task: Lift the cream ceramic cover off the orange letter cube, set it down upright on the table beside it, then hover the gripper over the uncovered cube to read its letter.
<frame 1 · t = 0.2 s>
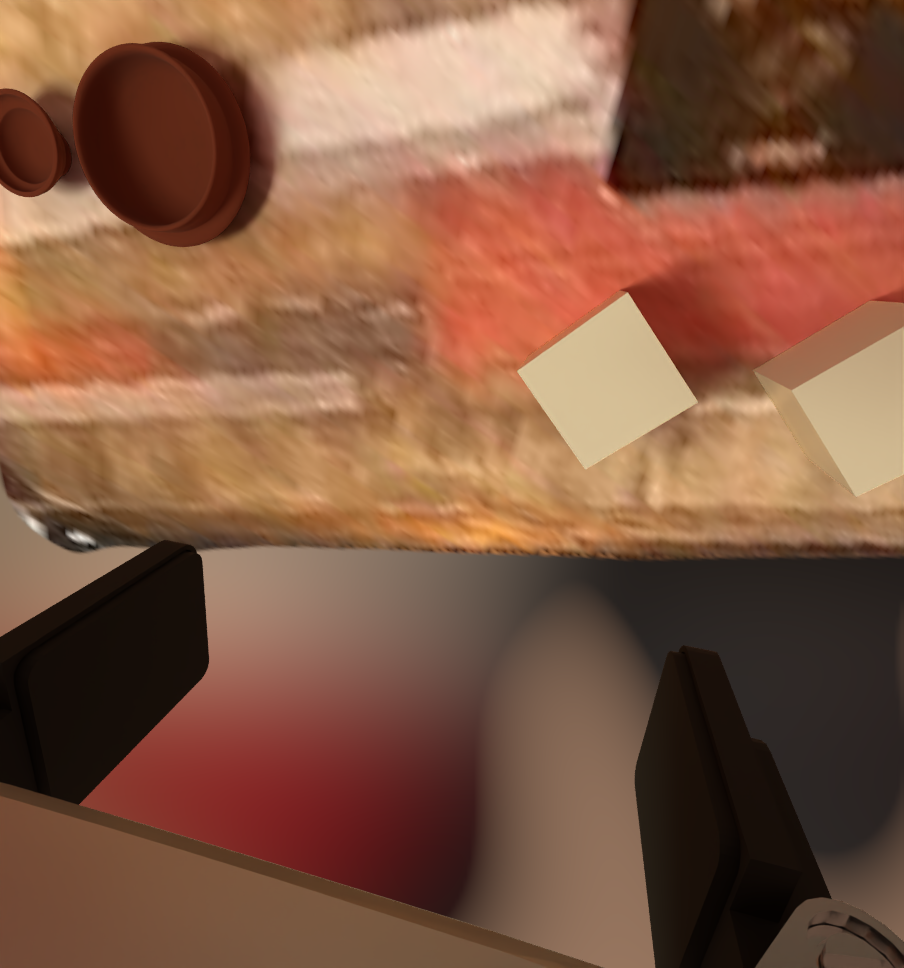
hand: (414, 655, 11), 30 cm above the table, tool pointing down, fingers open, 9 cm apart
cover empty: (836, 383, 34), on the table
pottery: (139, 156, 39), on the table
cover cube: (601, 368, 37), on the table
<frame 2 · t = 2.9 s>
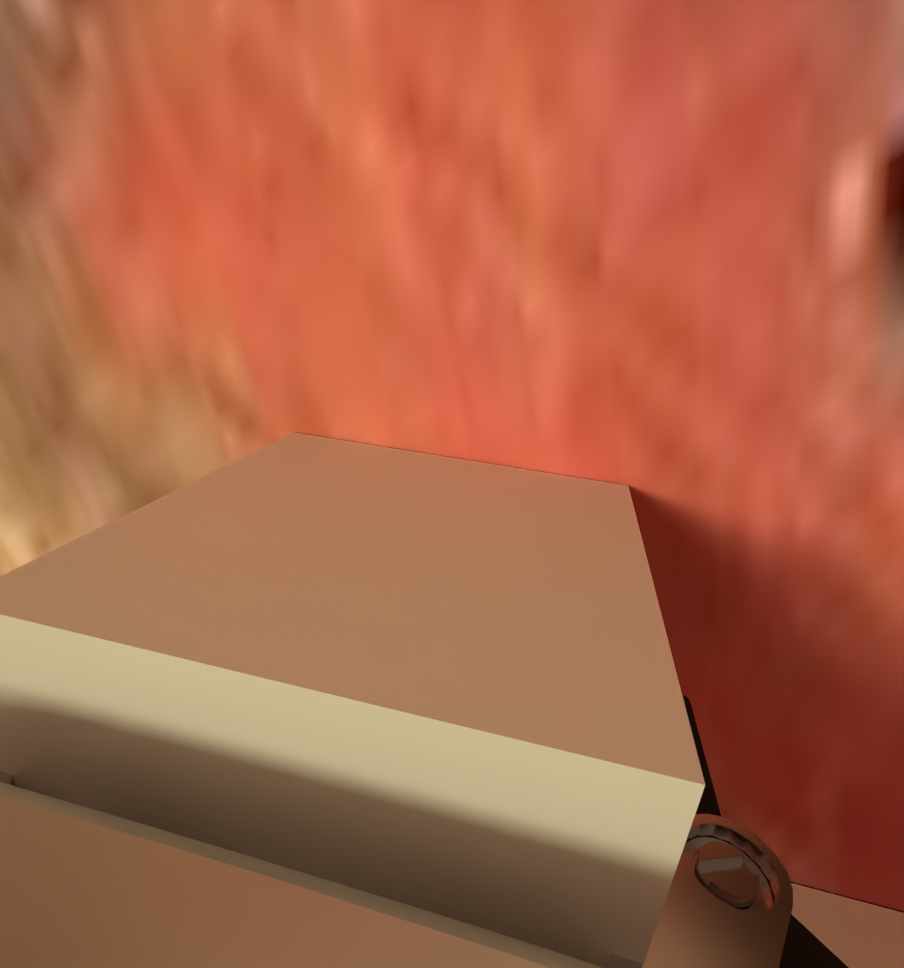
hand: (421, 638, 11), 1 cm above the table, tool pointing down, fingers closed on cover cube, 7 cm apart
cover cube: (437, 604, 12), on the table, touching gripper
when the fingers open (2 cm above the table, at t = 9.8 s): cover cube stays where it is, on the table.
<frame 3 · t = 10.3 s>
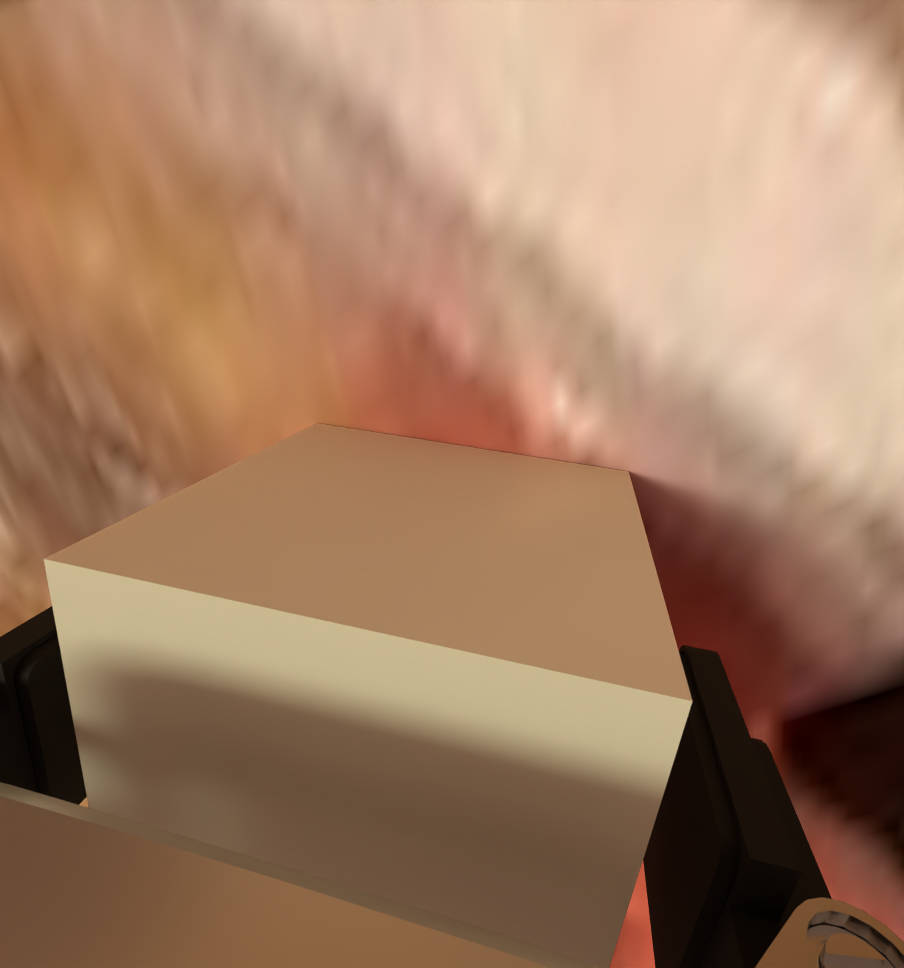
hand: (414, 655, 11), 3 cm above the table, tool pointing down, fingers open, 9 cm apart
cover cube: (449, 584, 13), on the table
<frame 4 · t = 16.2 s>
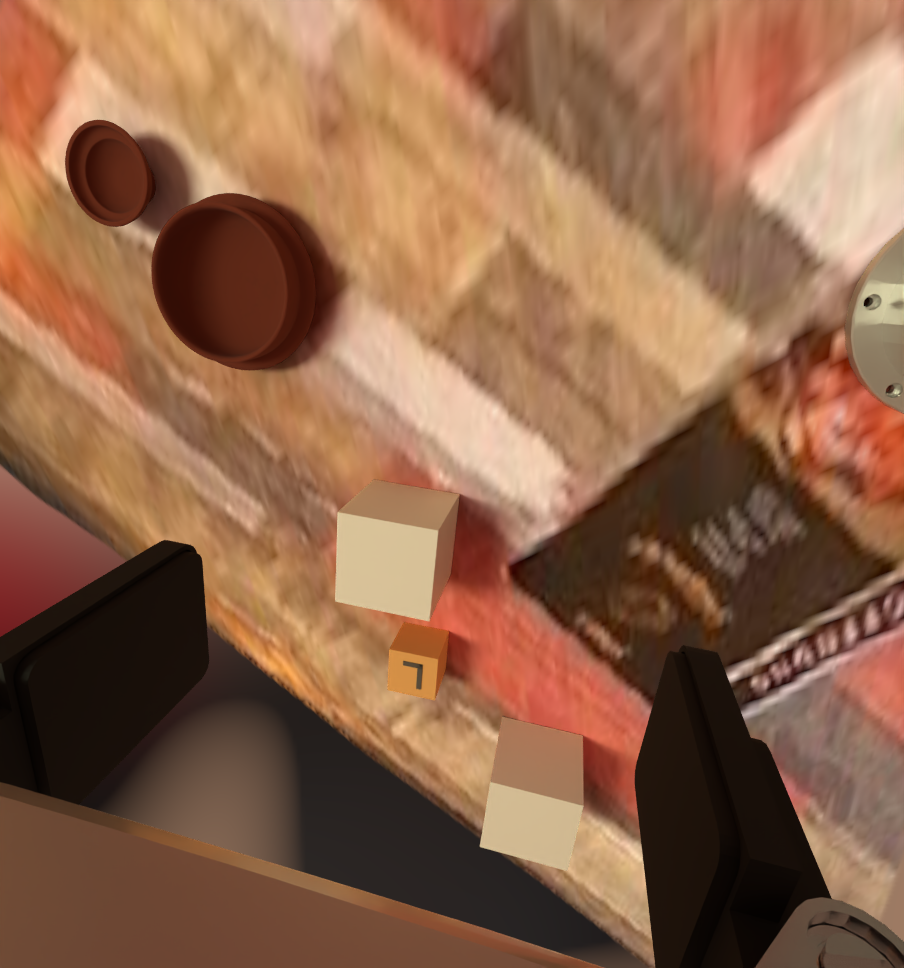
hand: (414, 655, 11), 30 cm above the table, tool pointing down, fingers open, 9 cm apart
cover empty: (536, 756, 49), on the table
pottery: (212, 247, 41), on the table
letter cube: (425, 645, 48), on the table
cover cube: (412, 527, 44), on the table
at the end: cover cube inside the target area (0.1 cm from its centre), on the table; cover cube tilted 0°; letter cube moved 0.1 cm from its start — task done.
